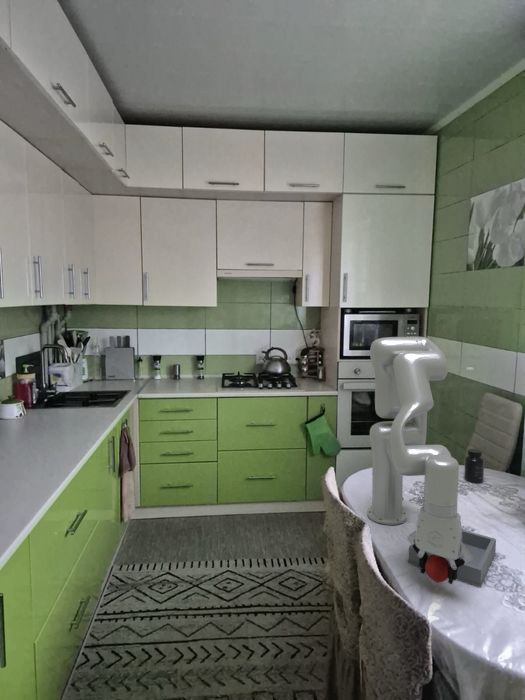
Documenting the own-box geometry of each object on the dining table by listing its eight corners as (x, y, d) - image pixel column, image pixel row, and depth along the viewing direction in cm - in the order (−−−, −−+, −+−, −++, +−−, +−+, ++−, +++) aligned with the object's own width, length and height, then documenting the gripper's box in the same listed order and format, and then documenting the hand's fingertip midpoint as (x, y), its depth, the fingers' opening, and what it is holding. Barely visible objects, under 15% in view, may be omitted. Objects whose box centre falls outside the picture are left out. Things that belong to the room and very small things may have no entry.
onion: (443, 574, 115) (444, 544, 114) (453, 589, 109) (455, 558, 108) (420, 575, 115) (421, 545, 114) (430, 590, 109) (431, 559, 108)
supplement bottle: (460, 478, 179) (461, 448, 178) (474, 475, 181) (475, 446, 180) (473, 484, 173) (474, 454, 172) (487, 482, 175) (488, 452, 174)
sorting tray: (429, 534, 138) (429, 520, 137) (495, 554, 127) (495, 538, 126) (408, 563, 123) (408, 547, 123) (480, 587, 113) (481, 570, 112)
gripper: (399, 503, 112) (397, 570, 114) (475, 524, 102) (471, 598, 104) (410, 491, 118) (408, 556, 120) (482, 510, 107) (479, 581, 110)
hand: (437, 575), depth 112 cm, fingers closed on onion, 5 cm apart
